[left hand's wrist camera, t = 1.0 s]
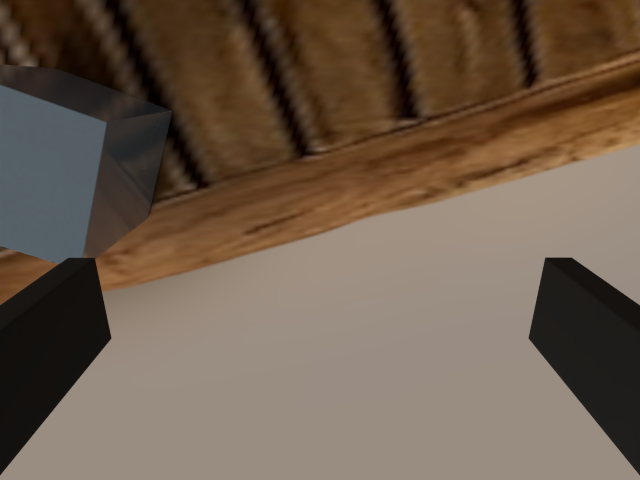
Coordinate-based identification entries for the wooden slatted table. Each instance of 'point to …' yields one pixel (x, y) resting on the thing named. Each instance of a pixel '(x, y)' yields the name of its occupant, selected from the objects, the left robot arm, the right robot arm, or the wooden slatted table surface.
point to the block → (73, 162)
